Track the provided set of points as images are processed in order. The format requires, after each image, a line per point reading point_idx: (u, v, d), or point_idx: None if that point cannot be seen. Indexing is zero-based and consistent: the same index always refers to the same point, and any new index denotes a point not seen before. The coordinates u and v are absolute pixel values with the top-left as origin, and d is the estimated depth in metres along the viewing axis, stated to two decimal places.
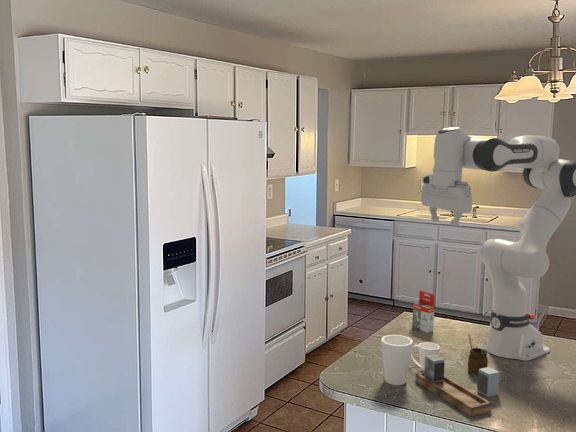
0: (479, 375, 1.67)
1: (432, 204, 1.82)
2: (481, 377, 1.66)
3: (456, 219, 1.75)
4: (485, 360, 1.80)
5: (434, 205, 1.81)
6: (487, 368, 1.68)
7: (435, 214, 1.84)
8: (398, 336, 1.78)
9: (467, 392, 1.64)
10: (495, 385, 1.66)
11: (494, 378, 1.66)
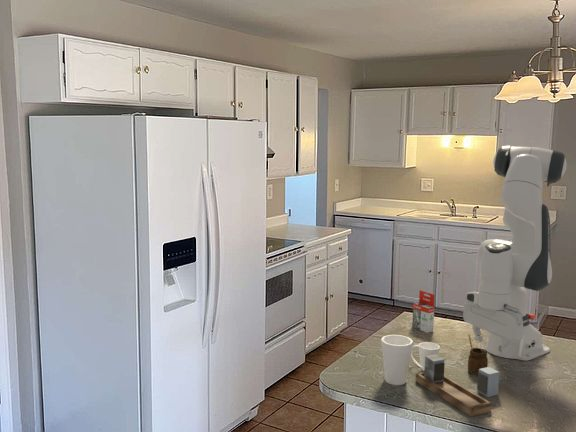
0: (479, 375, 1.67)
1: (476, 324, 1.68)
2: (481, 377, 1.66)
3: (504, 346, 1.60)
4: (485, 360, 1.80)
5: (479, 325, 1.67)
6: (487, 368, 1.68)
7: (479, 333, 1.70)
8: (398, 336, 1.78)
9: (467, 392, 1.64)
10: (495, 385, 1.66)
11: (494, 378, 1.66)
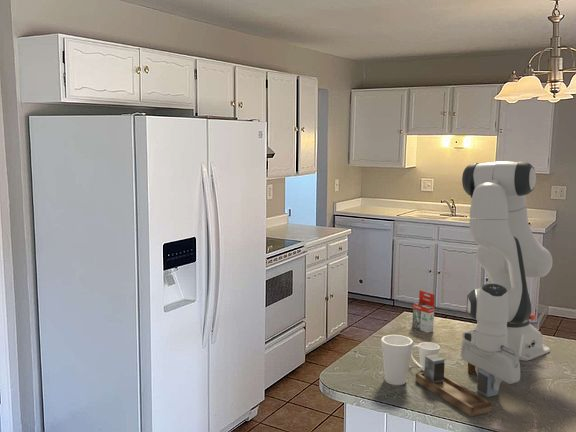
0: (479, 375, 1.67)
1: (474, 363, 1.70)
2: (481, 377, 1.66)
3: (496, 383, 1.64)
4: None
5: (476, 364, 1.69)
6: None
7: None
8: (398, 336, 1.78)
9: (467, 392, 1.64)
10: None
11: None
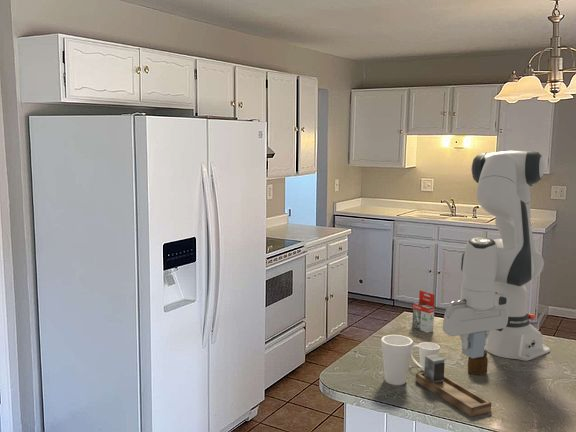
0: None
1: None
2: None
3: (462, 340, 1.55)
4: (485, 360, 1.80)
5: None
6: None
7: None
8: (398, 336, 1.78)
9: (467, 392, 1.64)
10: (470, 346, 1.55)
11: (469, 337, 1.55)
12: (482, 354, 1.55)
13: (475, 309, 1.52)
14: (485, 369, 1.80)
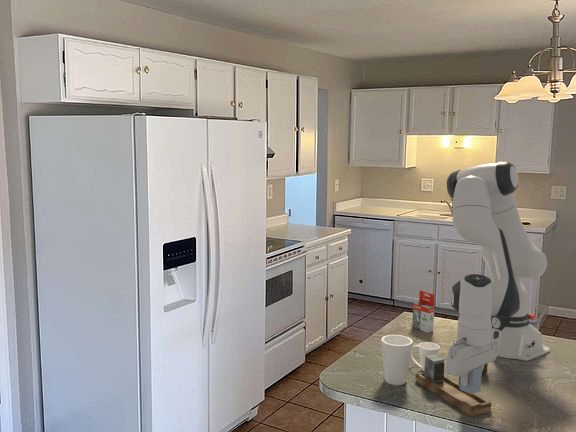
0: None
1: None
2: None
3: (462, 378, 1.56)
4: None
5: None
6: None
7: None
8: (398, 336, 1.78)
9: None
10: (469, 382, 1.56)
11: None
12: (479, 389, 1.58)
13: (475, 346, 1.53)
14: (485, 369, 1.80)
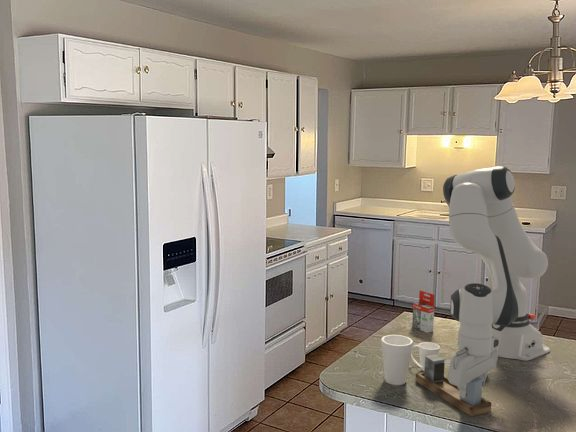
0: None
1: None
2: None
3: (460, 389, 1.54)
4: None
5: None
6: None
7: None
8: (398, 336, 1.78)
9: None
10: (470, 395, 1.56)
11: (469, 386, 1.56)
12: (480, 401, 1.58)
13: (476, 356, 1.53)
14: None
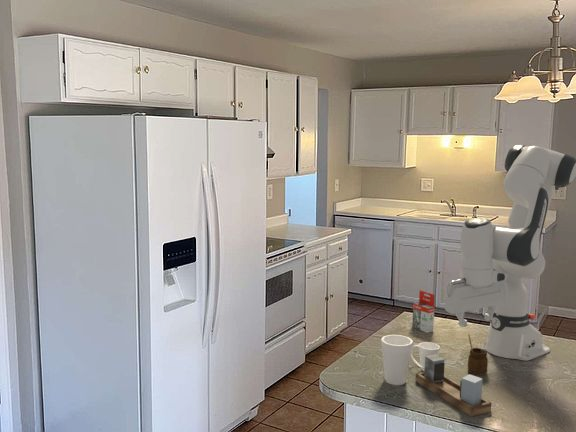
0: None
1: None
2: None
3: (459, 319, 1.61)
4: (485, 360, 1.80)
5: None
6: (476, 377, 1.58)
7: (490, 312, 1.64)
8: (398, 336, 1.78)
9: None
10: (470, 395, 1.56)
11: (469, 386, 1.56)
12: (480, 401, 1.58)
13: (475, 287, 1.58)
14: (485, 369, 1.80)
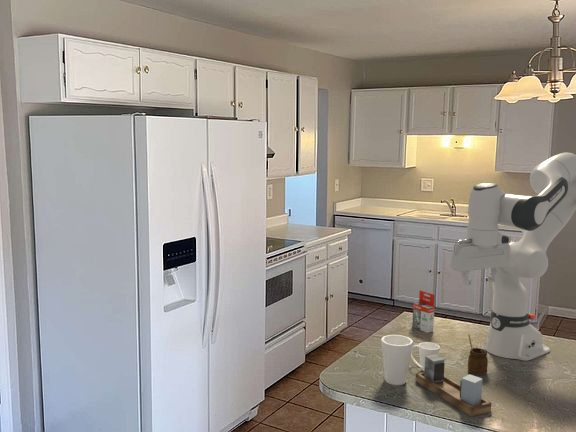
0: None
1: None
2: None
3: (464, 277, 1.69)
4: (485, 360, 1.80)
5: None
6: (476, 377, 1.58)
7: (493, 274, 1.73)
8: (398, 336, 1.78)
9: None
10: (470, 395, 1.56)
11: (469, 386, 1.56)
12: (480, 401, 1.58)
13: (480, 247, 1.67)
14: (485, 369, 1.80)
